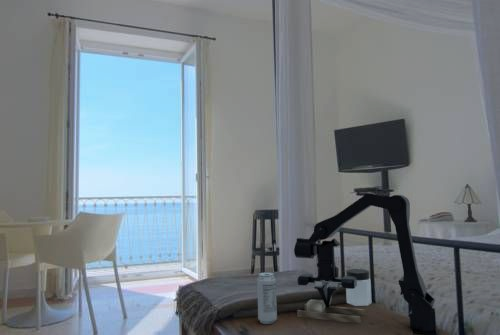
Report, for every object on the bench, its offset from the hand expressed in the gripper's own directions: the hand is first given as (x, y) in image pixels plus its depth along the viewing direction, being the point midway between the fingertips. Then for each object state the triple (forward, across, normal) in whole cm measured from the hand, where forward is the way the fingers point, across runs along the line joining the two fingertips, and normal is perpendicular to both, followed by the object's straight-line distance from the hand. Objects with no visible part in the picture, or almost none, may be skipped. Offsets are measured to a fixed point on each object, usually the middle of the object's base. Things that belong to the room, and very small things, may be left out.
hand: (327, 307), depth 127 cm
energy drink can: (+3, +17, +11) cm, 21 cm away
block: (+2, +4, 0) cm, 5 cm away
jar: (+3, -7, -19) cm, 20 cm away
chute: (+3, -1, 0) cm, 3 cm away
